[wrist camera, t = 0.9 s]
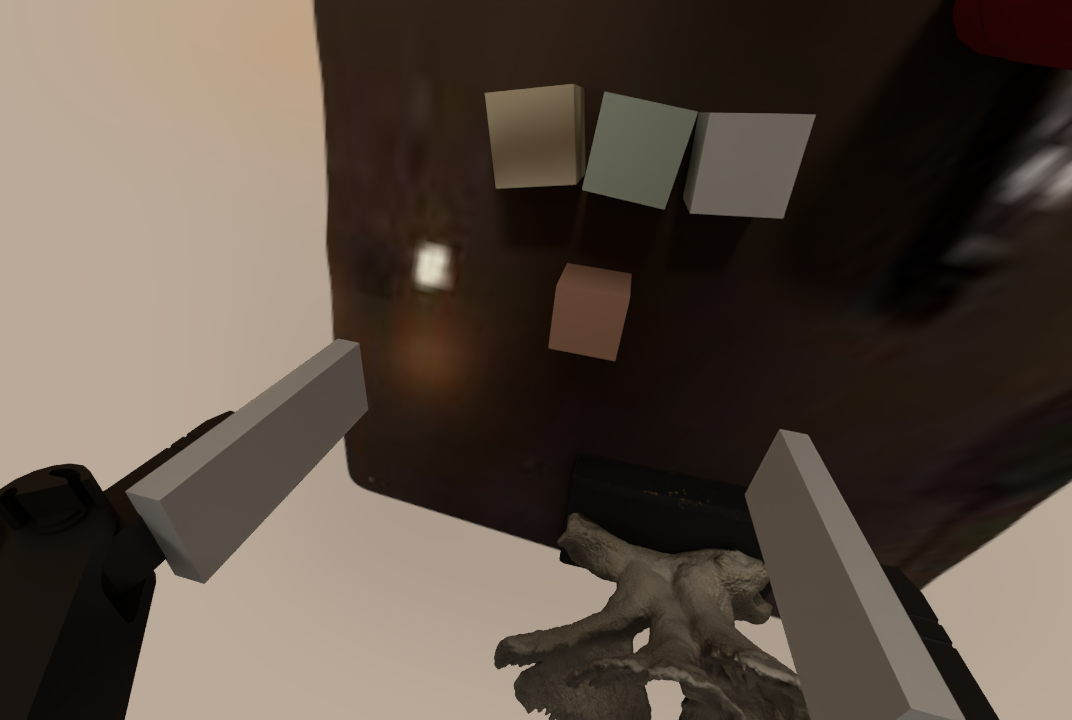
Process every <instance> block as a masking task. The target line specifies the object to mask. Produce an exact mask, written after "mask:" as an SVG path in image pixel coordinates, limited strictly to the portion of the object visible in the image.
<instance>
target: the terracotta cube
mask: <svg viewBox="0 0 1072 720" xmlns="http://www.w3.org/2000/svg"><path fill="white" fill-rule="evenodd" d="M630 290H631V274H630V273H624V272H618V271H612V270H606V269H600V268H594V267H588V266H582V265H576V264H570V263H567V265H566V267H565V269H564V271H563V273H562V275H561V277H560V279H559V281H558V283H557V285H556V292H555V300H554V308H553V316H552V323H551V331H550V339H549V347H548V348H549V349H555V350H560V351H565V352H570V353H575V354H580V355H585V356H591V357H596V358H601V359H606V360H611V361H615V360H616V356H617V351H618V347H619V343H620V339H621V334H622V330H623V326H624V322H625V317H626V313H627V309H628V305H629V300H630Z"/></svg>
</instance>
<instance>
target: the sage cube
mask: <svg viewBox="0 0 1072 720" xmlns="http://www.w3.org/2000/svg"><path fill="white" fill-rule="evenodd" d="M697 114H698V112H697V111H692V110H688V109H683V108H678V107H674V106H669V105H664V104H660V103H655V102H651V101H646V100H641V99H637V98H632V97H627V96H623V95H618V94H614V93H609V92H604V96H603V101H602V105H601V109H600V114H599V118H598V122H597V127H596V131H595V135H594V140H593V144H592V148H591V153H590V157H589V162H588V166H587V170H586V175H585V179H584V183H583V188H582V190H584V191H588V192H592V193H597V194H601V195H605V196H609V197H613V198H618V199H622V200H626V201H630V202H634V203H639V204H643V205H647V206H651V207H655V208H660V209H664V210H665V207H666V204H667V201H668V198H669V195H670V193H671V190H672V187H673V184H674V181H675V178H676V175H677V172H678V169H679V166H680V163H681V160H682V158H683V155H684V152H685V149H686V146H687V143H688V140H689V137H690V134H691V131H692V128H693V125H694V123H695V120H696V117H697Z"/></svg>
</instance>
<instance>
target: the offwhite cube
mask: <svg viewBox="0 0 1072 720" xmlns="http://www.w3.org/2000/svg"><path fill="white" fill-rule="evenodd" d="M815 116H816V115H811V114H769V113H699V114H698V119H697V125H696V130H695V136H694V141H693V146H692V152H691V157H690V162H689V168H688V173H687V179H686V184H685V189H684V195H683V200H684V202H685V204H686V206H687V208H688V210H689V212H690V214H709V215H727V216H745V217H764V218H782V219H783V217H784V214H785V211H786V208H787V205H788V201H789V198H790V195H791V192H792V189H793V185H794V182H795V179H796V176H797V173H798V170H799V166H800V163H801V160H802V157H803V154H804V150H805V147H806V144H807V141H808V138H809V135H810V131H811V128H812V125H813V122H814V119H815Z"/></svg>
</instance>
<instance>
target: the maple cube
mask: <svg viewBox="0 0 1072 720" xmlns="http://www.w3.org/2000/svg"><path fill="white" fill-rule="evenodd" d="M485 98H486V107H487V116H488V124H489V133H490V142H491V150H492V159H493V168H494V176H495V185H496V189H499V188H519V187H539V186H559V185H576V184H577V183H578V182H579V181H580V180H581V178H582V177H583V176H584V175H585V101H584V88H583V87H580V86H578V85H575V84H567V85H558V86H548V87H539V88H529V89H520V90H510V91H501V92H491V93H485Z"/></svg>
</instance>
